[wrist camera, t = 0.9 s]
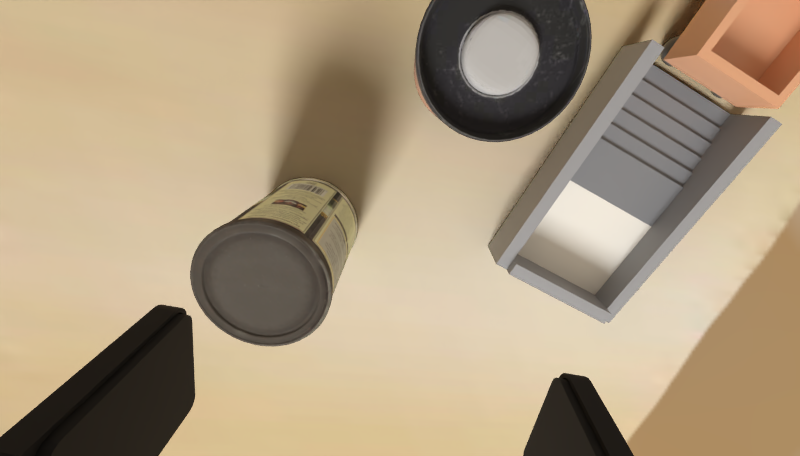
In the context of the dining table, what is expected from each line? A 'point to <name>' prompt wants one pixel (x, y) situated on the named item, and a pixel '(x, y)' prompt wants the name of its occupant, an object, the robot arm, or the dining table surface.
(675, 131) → the drawer housing
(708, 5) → the orange drawer with handle
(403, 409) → the dining table surface
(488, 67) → the travel mug
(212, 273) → the coffee can
